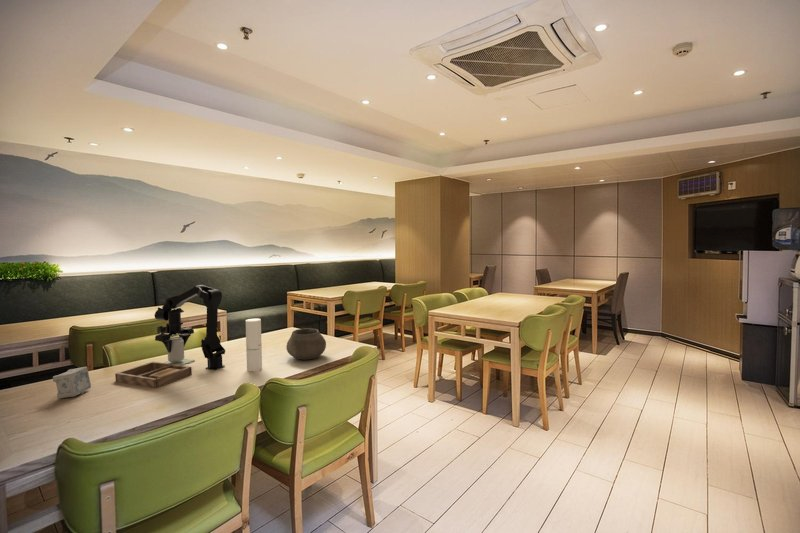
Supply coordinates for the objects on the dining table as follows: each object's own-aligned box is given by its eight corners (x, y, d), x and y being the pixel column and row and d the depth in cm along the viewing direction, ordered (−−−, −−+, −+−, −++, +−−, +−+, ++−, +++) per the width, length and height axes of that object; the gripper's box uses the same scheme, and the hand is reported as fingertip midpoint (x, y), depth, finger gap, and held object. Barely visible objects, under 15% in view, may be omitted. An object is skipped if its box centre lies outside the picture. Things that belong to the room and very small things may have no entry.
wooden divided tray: (191, 375, 184) (191, 366, 184) (156, 388, 167) (155, 379, 167) (153, 369, 192) (153, 361, 192) (115, 382, 175) (115, 373, 175)
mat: (194, 361, 205) (194, 360, 205) (174, 368, 194) (174, 367, 194) (177, 359, 209) (177, 357, 209) (157, 365, 198) (157, 364, 198)
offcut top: (180, 372, 182) (180, 369, 182) (161, 380, 172) (161, 376, 172) (168, 371, 184) (168, 368, 184) (149, 378, 174) (148, 375, 174)
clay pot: (332, 359, 209) (332, 332, 208) (294, 366, 197) (293, 337, 196) (317, 350, 227) (316, 325, 226) (281, 356, 215) (280, 329, 214)
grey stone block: (71, 390, 165) (70, 366, 165) (92, 389, 166) (90, 366, 166) (53, 399, 156) (51, 374, 155) (75, 399, 156) (73, 374, 156)
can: (177, 363, 197) (176, 340, 196) (164, 362, 199) (163, 339, 198) (187, 358, 205) (186, 336, 204) (175, 357, 206) (174, 335, 205)
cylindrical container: (265, 367, 195) (264, 319, 193) (255, 372, 188) (254, 321, 187) (253, 366, 197) (252, 318, 196) (243, 370, 191) (242, 320, 189)
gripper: (178, 316, 212) (179, 344, 213) (146, 323, 194) (147, 354, 195) (194, 317, 208) (195, 346, 209) (162, 325, 190) (164, 356, 191)
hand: (175, 350), depth 201 cm, fingers closed on can, 7 cm apart
